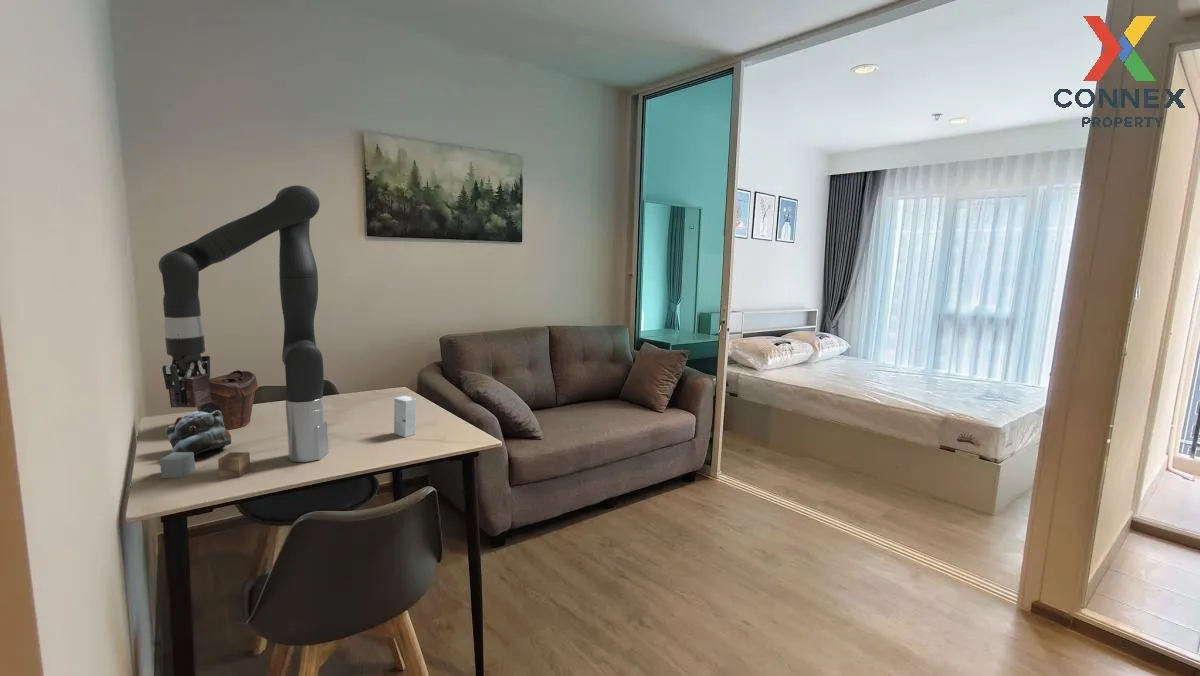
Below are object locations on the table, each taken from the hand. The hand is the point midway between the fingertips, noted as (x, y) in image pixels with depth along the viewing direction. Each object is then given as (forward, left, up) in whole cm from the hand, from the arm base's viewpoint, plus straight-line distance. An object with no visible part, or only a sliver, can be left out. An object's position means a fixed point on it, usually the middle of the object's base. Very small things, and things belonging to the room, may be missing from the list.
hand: (190, 401), depth 134 cm
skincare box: (-42, -36, -21) cm, 59 cm away
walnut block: (-7, -4, -21) cm, 22 cm away
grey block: (+7, -4, -21) cm, 22 cm away
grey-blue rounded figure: (+11, -18, -21) cm, 30 cm away
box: (0, 0, -1) cm, 1 cm away
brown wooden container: (+18, -45, -21) cm, 53 cm away
